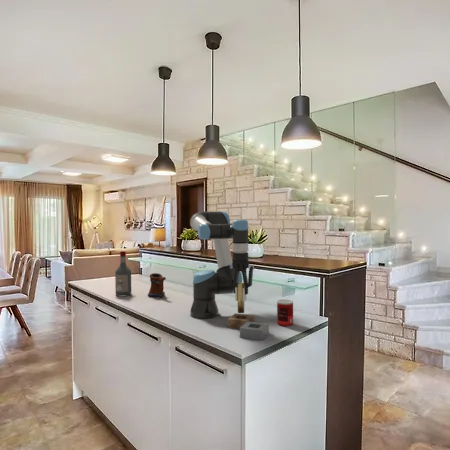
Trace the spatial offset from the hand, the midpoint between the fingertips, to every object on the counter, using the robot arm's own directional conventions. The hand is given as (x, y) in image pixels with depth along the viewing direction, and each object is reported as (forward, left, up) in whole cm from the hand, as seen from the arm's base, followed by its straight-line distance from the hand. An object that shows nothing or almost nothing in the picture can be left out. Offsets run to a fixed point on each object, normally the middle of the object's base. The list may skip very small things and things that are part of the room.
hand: (240, 300), depth 157 cm
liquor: (-100, +33, -12) cm, 106 cm away
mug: (-73, +36, -12) cm, 82 cm away
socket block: (+10, -10, -12) cm, 19 cm away
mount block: (0, 0, -12) cm, 12 cm away
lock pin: (0, 0, -6) cm, 6 cm away
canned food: (+19, +10, -12) cm, 25 cm away
